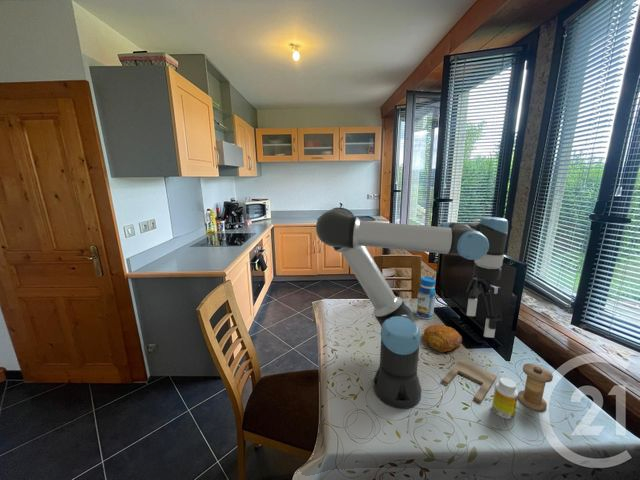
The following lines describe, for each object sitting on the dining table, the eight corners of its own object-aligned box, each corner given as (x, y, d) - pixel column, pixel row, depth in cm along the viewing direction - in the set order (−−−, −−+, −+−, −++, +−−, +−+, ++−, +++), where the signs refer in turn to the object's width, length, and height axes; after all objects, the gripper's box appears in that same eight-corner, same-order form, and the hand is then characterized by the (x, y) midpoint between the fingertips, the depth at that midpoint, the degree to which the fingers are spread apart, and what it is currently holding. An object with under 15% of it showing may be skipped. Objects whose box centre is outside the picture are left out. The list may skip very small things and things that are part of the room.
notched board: (480, 403, 82) (480, 400, 82) (441, 382, 90) (441, 379, 90) (496, 378, 92) (496, 375, 92) (460, 361, 101) (460, 359, 101)
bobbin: (544, 415, 77) (551, 380, 75) (515, 401, 83) (521, 368, 80) (548, 402, 82) (555, 369, 80) (520, 389, 87) (526, 358, 85)
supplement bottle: (515, 423, 75) (521, 392, 73) (492, 415, 78) (497, 385, 76) (512, 408, 80) (517, 379, 78) (490, 401, 82) (495, 373, 80)
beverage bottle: (436, 319, 132) (440, 281, 128) (419, 319, 132) (422, 281, 128) (429, 311, 140) (432, 275, 136) (413, 311, 140) (416, 275, 136)
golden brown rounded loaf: (466, 350, 112) (470, 332, 110) (444, 357, 103) (448, 339, 102) (436, 333, 124) (439, 317, 122) (414, 338, 115) (418, 321, 114)
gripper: (524, 279, 72) (512, 348, 77) (482, 255, 97) (475, 309, 101) (494, 278, 73) (484, 346, 78) (460, 254, 98) (454, 307, 102)
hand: (479, 325), depth 89 cm, fingers open, 13 cm apart
